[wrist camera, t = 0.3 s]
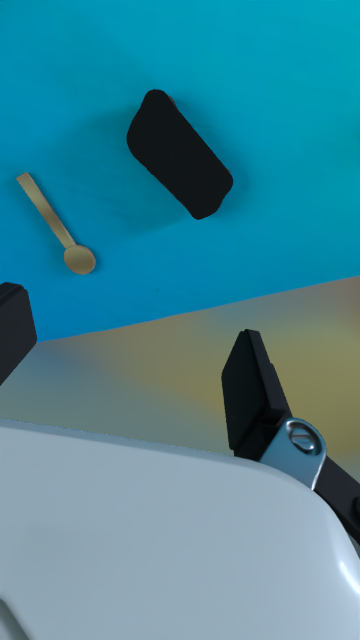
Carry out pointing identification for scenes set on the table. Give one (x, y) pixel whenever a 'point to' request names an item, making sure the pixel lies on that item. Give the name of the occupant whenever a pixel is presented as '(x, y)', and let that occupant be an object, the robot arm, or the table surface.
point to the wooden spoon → (59, 229)
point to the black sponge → (178, 155)
